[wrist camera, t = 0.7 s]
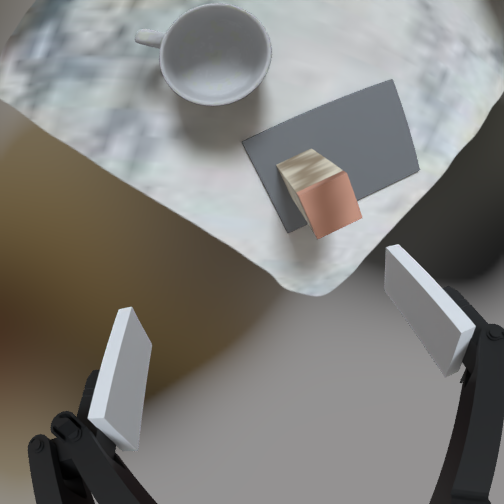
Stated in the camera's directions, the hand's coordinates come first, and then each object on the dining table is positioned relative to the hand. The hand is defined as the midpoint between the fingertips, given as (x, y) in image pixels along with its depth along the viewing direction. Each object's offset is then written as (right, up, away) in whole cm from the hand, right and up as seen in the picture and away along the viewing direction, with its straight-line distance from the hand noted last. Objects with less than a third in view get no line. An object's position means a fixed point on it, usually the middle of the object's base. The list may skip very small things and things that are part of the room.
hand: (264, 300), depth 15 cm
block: (+6, +12, +24) cm, 28 cm away
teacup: (-6, +25, +16) cm, 31 cm away
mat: (+11, +15, +24) cm, 30 cm away
